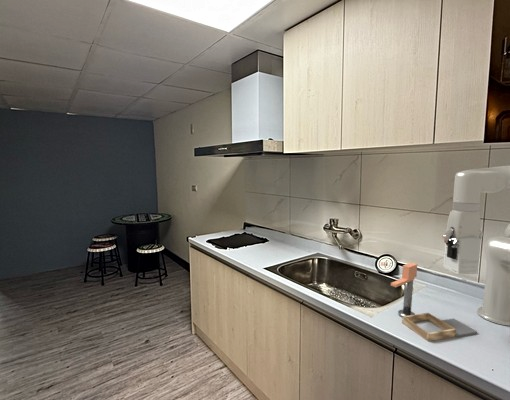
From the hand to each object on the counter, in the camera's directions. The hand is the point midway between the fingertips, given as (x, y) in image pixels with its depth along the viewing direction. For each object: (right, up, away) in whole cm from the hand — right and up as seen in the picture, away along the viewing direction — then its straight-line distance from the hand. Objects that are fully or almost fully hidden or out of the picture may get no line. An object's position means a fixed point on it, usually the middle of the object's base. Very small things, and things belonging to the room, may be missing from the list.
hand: (461, 256), depth 101 cm
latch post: (-13, -25, +12) cm, 31 cm away
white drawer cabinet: (0, -5, +1) cm, 5 cm away
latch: (-16, -11, +8) cm, 21 cm away
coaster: (0, -27, +3) cm, 27 cm away
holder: (-10, -27, +3) cm, 29 cm away
